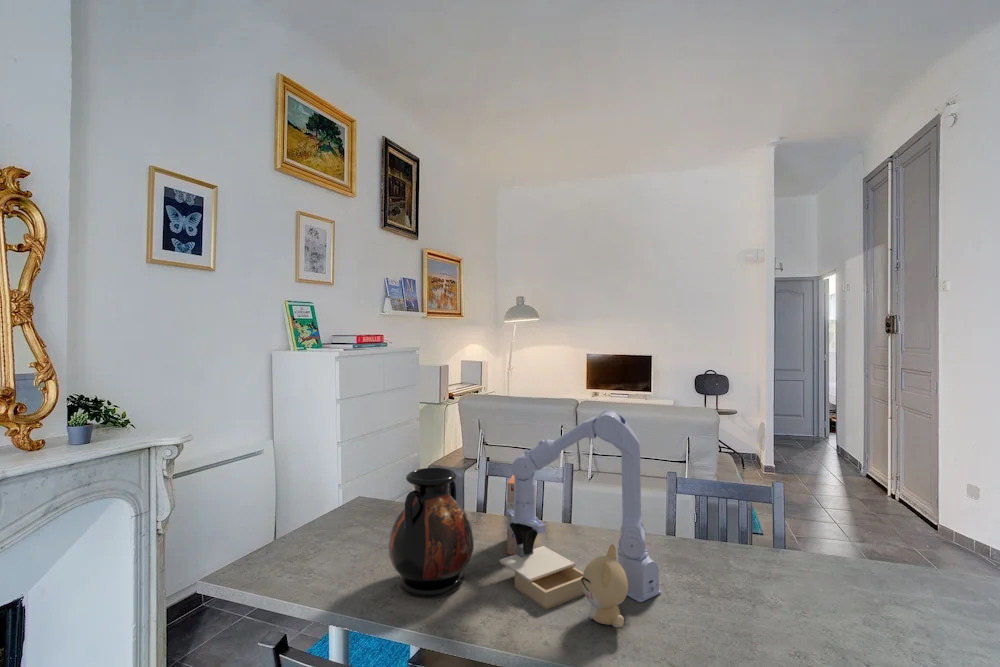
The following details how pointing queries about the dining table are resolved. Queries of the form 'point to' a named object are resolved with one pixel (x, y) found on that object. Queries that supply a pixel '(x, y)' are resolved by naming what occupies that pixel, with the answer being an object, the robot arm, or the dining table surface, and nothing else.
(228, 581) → the dining table surface
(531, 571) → the carton lid
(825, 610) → the dining table surface
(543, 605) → the carton
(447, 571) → the amphora vase
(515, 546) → the cracker box
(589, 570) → the kitten
